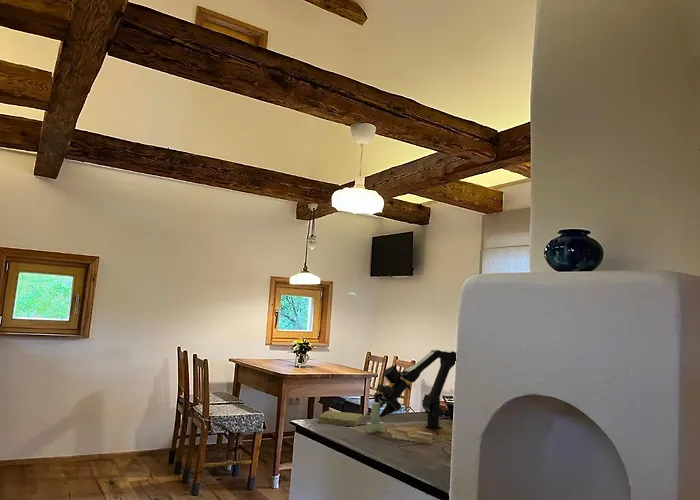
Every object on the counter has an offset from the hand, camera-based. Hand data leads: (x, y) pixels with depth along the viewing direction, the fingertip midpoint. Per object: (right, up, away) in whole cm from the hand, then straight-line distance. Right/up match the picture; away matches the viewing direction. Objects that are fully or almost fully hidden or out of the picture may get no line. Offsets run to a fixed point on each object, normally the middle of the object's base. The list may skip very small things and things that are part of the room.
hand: (375, 414), depth 252 cm
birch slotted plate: (+15, -7, -15) cm, 22 cm away
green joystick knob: (0, -8, -1) cm, 8 cm away
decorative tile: (-17, -10, +19) cm, 28 cm away
